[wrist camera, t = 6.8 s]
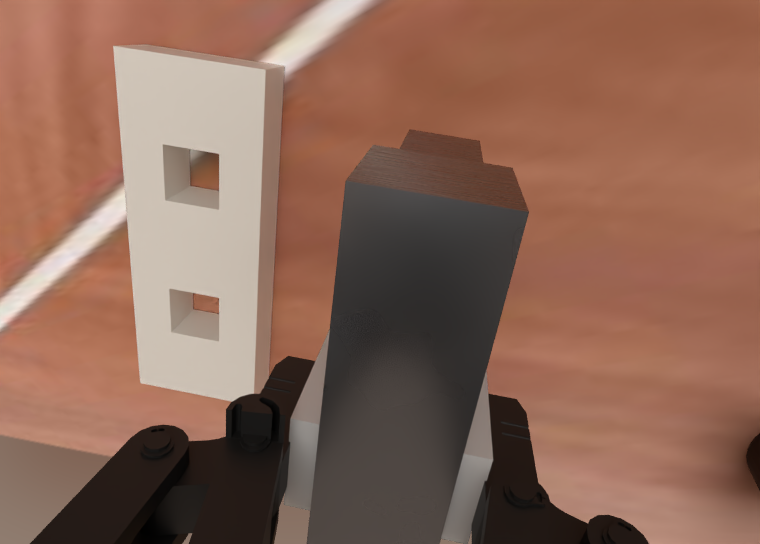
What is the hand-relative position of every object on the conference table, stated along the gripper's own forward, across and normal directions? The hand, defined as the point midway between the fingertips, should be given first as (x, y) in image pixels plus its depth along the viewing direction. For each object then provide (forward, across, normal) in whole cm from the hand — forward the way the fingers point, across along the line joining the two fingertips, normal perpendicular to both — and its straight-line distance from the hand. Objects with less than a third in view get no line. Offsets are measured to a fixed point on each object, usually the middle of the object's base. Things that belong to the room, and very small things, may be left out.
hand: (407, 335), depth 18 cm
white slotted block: (+19, -15, -6) cm, 25 cm away
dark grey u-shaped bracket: (+3, 0, 0) cm, 3 cm away
